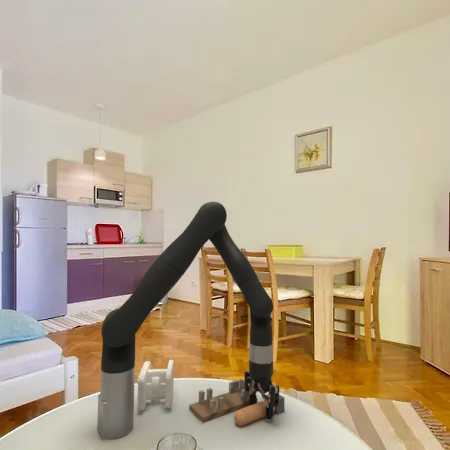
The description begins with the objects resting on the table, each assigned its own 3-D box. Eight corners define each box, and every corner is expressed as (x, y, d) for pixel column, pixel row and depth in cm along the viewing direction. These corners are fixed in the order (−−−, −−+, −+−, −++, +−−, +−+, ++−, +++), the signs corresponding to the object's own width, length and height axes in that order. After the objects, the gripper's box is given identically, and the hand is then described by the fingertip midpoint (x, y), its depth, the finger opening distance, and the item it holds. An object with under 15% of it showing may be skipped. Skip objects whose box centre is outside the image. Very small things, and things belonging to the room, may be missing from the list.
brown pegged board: (202, 422, 91) (202, 405, 91) (189, 409, 98) (189, 393, 99) (257, 402, 103) (257, 387, 103) (241, 392, 110) (241, 377, 110)
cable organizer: (170, 414, 96) (171, 375, 96) (135, 415, 95) (136, 376, 95) (173, 391, 111) (174, 357, 111) (143, 392, 110) (144, 358, 110)
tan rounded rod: (239, 430, 88) (240, 414, 88) (230, 422, 91) (231, 407, 92) (284, 411, 98) (284, 397, 98) (274, 405, 101) (274, 391, 101)
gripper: (237, 353, 100) (237, 406, 99) (267, 368, 88) (267, 428, 87) (255, 349, 104) (255, 399, 103) (286, 362, 92) (286, 420, 91)
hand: (260, 412), depth 95 cm, fingers open, 7 cm apart
